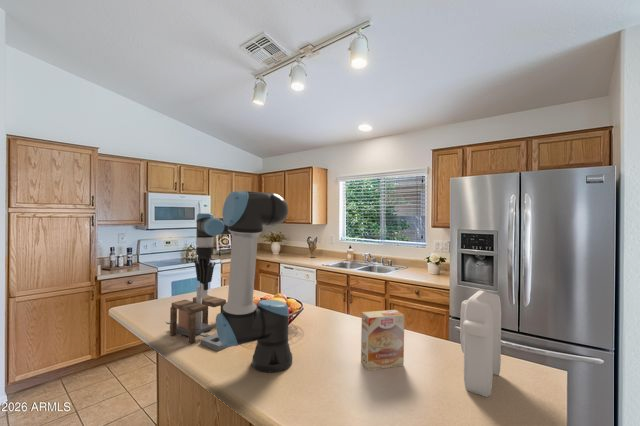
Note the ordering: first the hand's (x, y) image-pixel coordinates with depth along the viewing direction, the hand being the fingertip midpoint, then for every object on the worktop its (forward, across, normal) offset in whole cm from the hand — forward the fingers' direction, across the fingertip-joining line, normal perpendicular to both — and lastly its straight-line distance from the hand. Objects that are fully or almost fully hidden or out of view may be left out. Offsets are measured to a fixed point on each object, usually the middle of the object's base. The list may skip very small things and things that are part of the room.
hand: (203, 296), depth 144 cm
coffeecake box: (+18, -80, -21) cm, 84 cm away
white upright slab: (+17, -112, -29) cm, 117 cm away
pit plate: (+18, -14, 0) cm, 22 cm away
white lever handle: (+18, +9, 0) cm, 20 cm away
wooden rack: (+18, +11, 0) cm, 21 cm away
